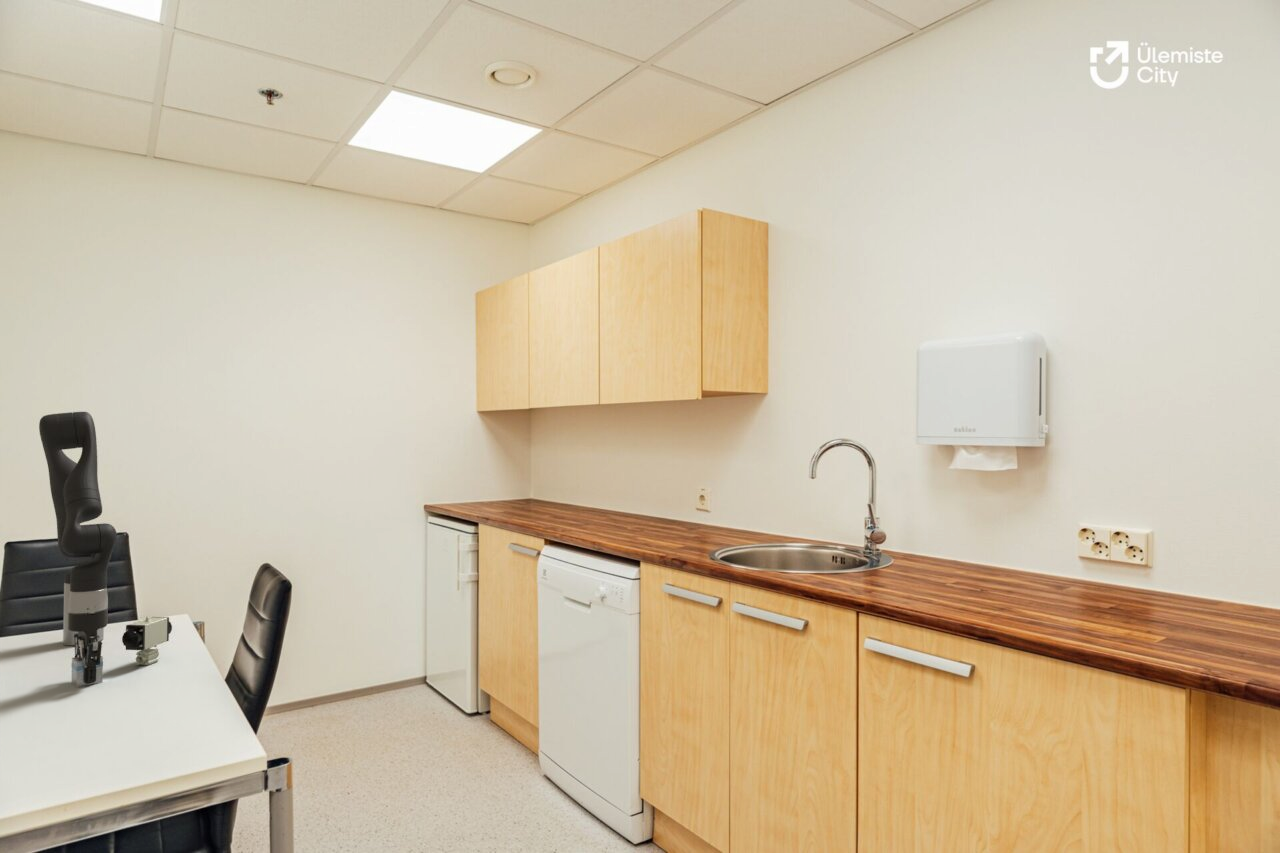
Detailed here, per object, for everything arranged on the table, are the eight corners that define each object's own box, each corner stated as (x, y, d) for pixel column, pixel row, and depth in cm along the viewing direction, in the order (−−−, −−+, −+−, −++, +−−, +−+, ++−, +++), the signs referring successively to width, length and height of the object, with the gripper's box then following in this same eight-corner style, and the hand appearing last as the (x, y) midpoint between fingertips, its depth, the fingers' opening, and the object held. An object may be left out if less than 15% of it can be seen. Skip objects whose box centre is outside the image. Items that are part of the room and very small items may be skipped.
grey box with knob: (71, 683, 174) (71, 653, 174) (97, 678, 178) (97, 649, 178) (76, 687, 171) (76, 657, 171) (102, 682, 175) (103, 652, 175)
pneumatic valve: (172, 657, 195) (173, 611, 195) (138, 670, 183) (138, 622, 184) (153, 656, 196) (153, 611, 196) (117, 670, 184) (118, 622, 184)
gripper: (61, 606, 176) (59, 678, 176) (76, 615, 167) (75, 691, 167) (98, 601, 182) (97, 670, 182) (115, 610, 173) (114, 683, 172)
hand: (87, 680), depth 174 cm, fingers closed on grey box with knob, 4 cm apart
